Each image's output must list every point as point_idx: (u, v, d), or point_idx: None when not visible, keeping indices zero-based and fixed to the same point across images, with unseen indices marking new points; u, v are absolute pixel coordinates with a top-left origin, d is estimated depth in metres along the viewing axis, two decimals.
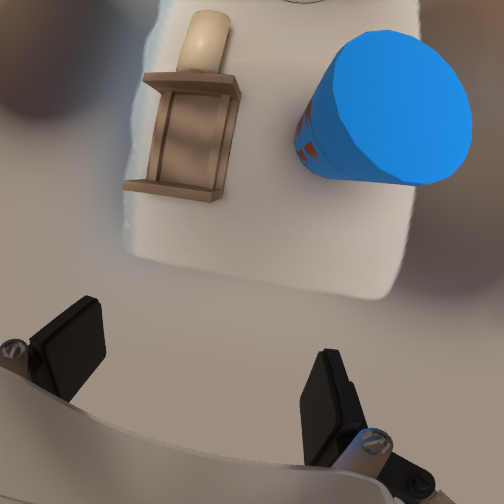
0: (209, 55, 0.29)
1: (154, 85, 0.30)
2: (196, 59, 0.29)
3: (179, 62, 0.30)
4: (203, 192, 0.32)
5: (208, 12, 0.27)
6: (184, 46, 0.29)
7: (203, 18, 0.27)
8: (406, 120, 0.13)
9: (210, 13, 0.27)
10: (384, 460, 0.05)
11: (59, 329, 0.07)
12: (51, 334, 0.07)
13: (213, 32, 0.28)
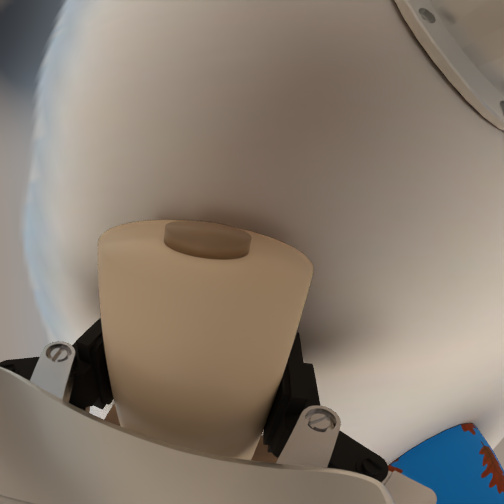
0: None
1: None
2: None
3: None
4: None
5: (177, 309, 0.05)
6: (122, 425, 0.07)
7: (158, 356, 0.05)
8: None
9: (194, 321, 0.05)
10: (335, 436, 0.06)
11: None
12: (99, 335, 0.08)
13: (232, 424, 0.06)
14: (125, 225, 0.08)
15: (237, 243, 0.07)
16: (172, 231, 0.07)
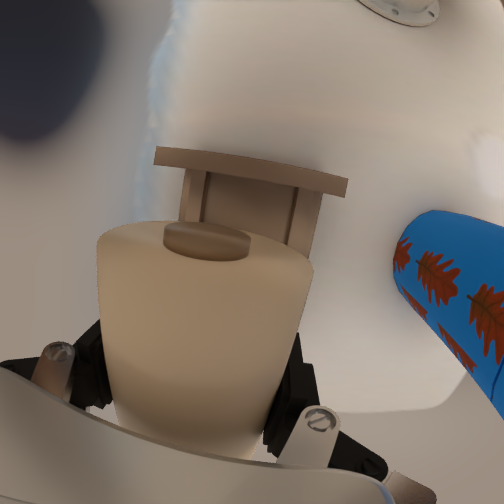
0: None
1: None
2: None
3: None
4: None
5: (176, 311, 0.05)
6: (121, 426, 0.07)
7: (157, 359, 0.05)
8: None
9: (193, 324, 0.05)
10: (334, 436, 0.06)
11: None
12: (99, 335, 0.08)
13: (231, 426, 0.06)
14: (124, 226, 0.08)
15: (236, 245, 0.07)
16: (171, 233, 0.07)
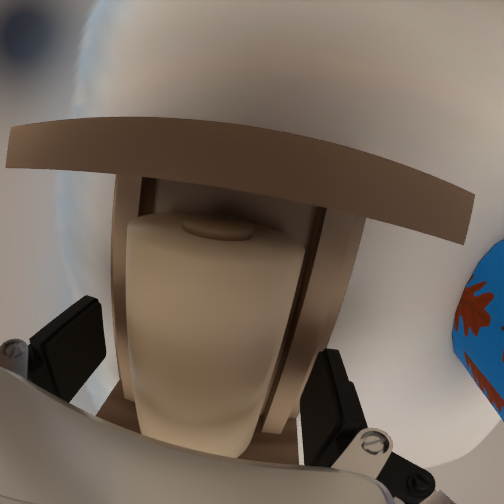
0: (230, 443, 0.09)
1: None
2: None
3: (141, 427, 0.10)
4: None
5: (196, 274, 0.07)
6: (137, 394, 0.09)
7: (178, 316, 0.07)
8: None
9: (208, 284, 0.07)
10: (384, 460, 0.05)
11: (59, 329, 0.07)
12: (51, 333, 0.07)
13: (236, 383, 0.08)
14: (147, 216, 0.10)
15: (242, 228, 0.08)
16: (189, 219, 0.08)
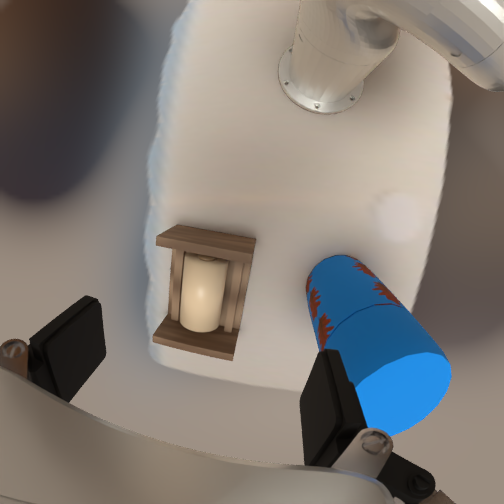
0: (209, 320, 0.37)
1: None
2: (198, 326, 0.37)
3: (181, 319, 0.38)
4: (226, 354, 0.36)
5: (202, 268, 0.34)
6: (183, 304, 0.37)
7: (198, 277, 0.35)
8: (387, 415, 0.18)
9: (204, 270, 0.34)
10: (384, 460, 0.05)
11: (59, 329, 0.07)
12: (51, 334, 0.07)
13: (210, 295, 0.36)
14: (187, 253, 0.37)
15: (212, 258, 0.36)
16: (200, 256, 0.36)
